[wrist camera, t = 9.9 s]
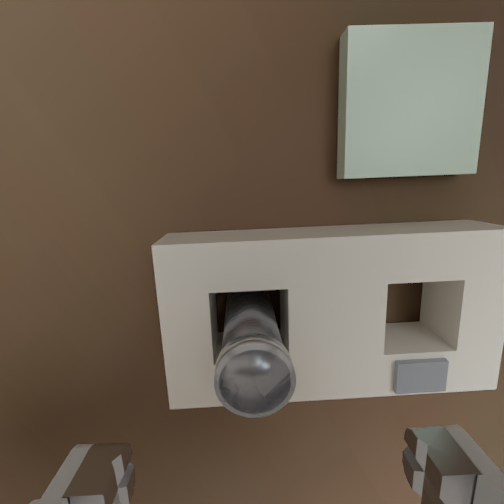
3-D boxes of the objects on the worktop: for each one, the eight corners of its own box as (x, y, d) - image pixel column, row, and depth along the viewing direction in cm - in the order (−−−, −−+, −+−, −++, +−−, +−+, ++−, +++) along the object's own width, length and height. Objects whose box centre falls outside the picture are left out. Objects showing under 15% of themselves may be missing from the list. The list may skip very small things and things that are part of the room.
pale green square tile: (474, 34, 19) (494, 22, 17) (459, 173, 20) (476, 173, 19) (339, 37, 18) (348, 25, 17) (336, 178, 20) (344, 178, 19)
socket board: (469, 219, 21) (527, 229, 17) (453, 354, 23) (501, 393, 19) (167, 233, 21) (149, 247, 16) (181, 370, 23) (168, 414, 19)
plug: (272, 276, 22) (295, 342, 13) (273, 322, 22) (296, 415, 14) (222, 278, 21) (211, 347, 13) (225, 325, 22) (216, 420, 13)
